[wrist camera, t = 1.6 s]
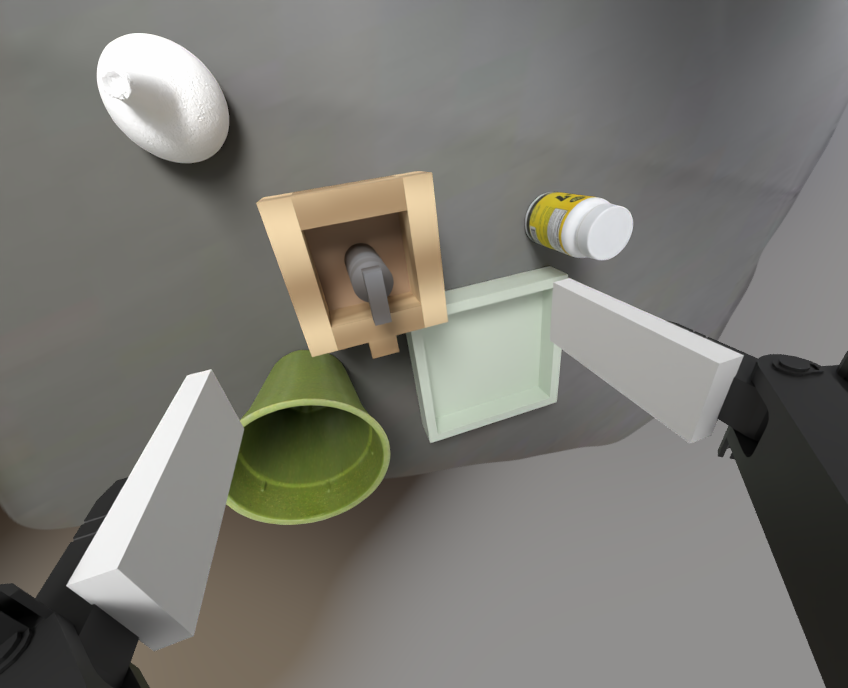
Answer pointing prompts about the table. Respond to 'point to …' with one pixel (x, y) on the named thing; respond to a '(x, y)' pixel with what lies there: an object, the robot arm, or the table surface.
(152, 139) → the garlic bulb
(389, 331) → the wooden frame with peg
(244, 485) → the plant pot
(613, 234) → the supplement bottle
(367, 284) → the wooden block
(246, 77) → the table surface
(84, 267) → the table surface
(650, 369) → the robot arm
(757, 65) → the table surface
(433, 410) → the tray
